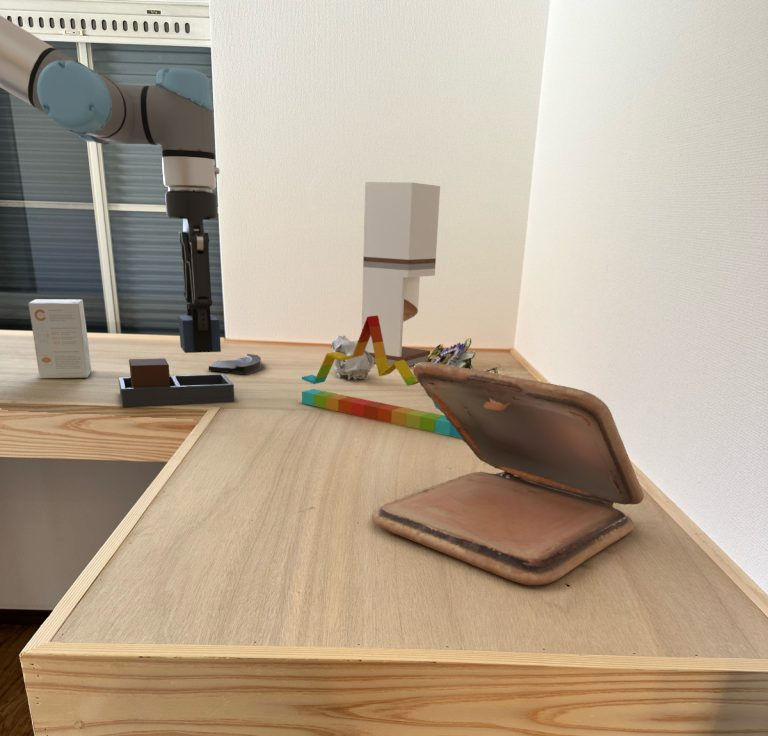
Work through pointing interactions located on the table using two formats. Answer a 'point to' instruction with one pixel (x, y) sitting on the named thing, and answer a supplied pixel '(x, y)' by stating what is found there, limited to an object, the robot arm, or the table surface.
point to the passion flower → (455, 355)
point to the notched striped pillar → (397, 259)
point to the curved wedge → (238, 365)
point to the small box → (60, 338)
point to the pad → (187, 334)
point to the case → (521, 477)
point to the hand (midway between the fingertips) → (200, 347)
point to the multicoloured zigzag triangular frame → (371, 407)
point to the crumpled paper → (354, 365)
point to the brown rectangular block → (149, 372)
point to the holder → (179, 391)
